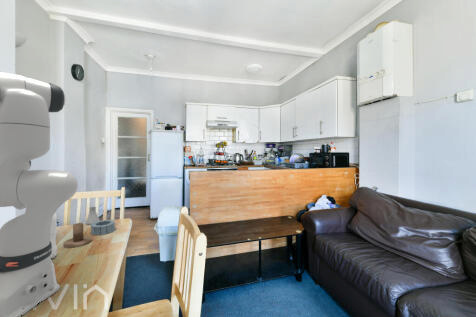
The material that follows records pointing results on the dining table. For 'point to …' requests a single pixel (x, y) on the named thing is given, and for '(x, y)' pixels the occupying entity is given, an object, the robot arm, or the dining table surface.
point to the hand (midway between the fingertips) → (47, 208)
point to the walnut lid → (77, 237)
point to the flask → (92, 216)
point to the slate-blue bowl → (102, 227)
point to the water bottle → (53, 235)
